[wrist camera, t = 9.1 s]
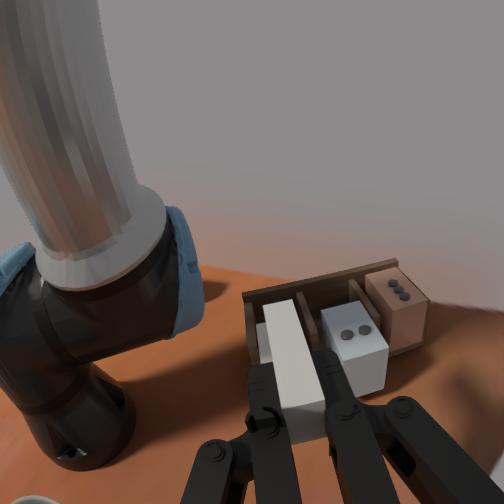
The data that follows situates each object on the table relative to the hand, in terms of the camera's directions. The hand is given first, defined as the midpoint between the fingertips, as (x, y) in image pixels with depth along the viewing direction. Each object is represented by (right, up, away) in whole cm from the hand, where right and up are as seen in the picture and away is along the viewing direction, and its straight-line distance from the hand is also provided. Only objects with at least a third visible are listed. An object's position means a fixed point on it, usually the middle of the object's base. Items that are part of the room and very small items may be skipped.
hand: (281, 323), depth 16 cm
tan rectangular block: (+16, -6, +19) cm, 25 cm away
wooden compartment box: (+9, -8, +22) cm, 25 cm away
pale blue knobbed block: (+9, -9, +15) cm, 19 cm away
